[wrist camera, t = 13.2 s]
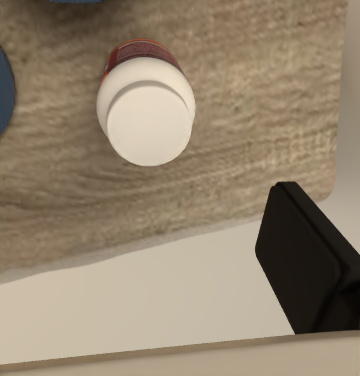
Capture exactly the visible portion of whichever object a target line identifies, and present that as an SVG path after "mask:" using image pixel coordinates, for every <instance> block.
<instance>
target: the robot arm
mask: <svg viewBox="0 0 360 376" xmlns="http://www.w3.org/2000/svg"><path fill="white" fill-rule="evenodd" d="M255 253H256V257H257V259H258V261H259V263H260V265H261V267H262V268H263V271H264V272H265V274H266V277H267V279H268V281H269V283H270V285H271V287H272V289H273V291H274V293H275V295H276V297H277V299H278V301H279V303H280V305H281V307H282V309H283V311H284V313H285V315H286V317H287V319H288V321H289V323H290V325H291V327H292V329H293V331H294V333H295V335H286V336H275V337H265V338H255V339H244V340H234V341H224V342H215V343H204V344H194V345H184V346H175V347H164V348H155V349H145V350H136V351H125V352H117V353H107V354H96V355H87V356H78V357H69V358H59V359H50V360H41V361H31V362H22V363H13V364H4V365H0V376H360V255H359V254H358V252H357V251H356V250H355V249H354V248H353V247H352V245H351V244H350V243H349V242H348V241H347V240H346V239H345V237H344V236H343V235H342V234H341V233H340V232H339V231H338V229H337V228H336V227H335V226H334V225H333V224H332V223H331V221H330V220H329V219H328V218H327V217H326V216H325V215H324V213H323V212H322V211H321V210H320V209H319V208H318V207H317V205H316V204H315V203H314V202H313V201H312V200H311V199H310V197H309V196H308V195H307V194H306V193H305V192H304V191H303V189H302V188H301V187H300V186H299V185H298V184H297V183H296V182H277V183H276V185H275V186H272V187H271V189H270V192H269V196H268V200H267V204H266V207H265V211H264V215H263V219H262V223H261V226H260V230H259V234H258V238H257V242H256V246H255Z"/></svg>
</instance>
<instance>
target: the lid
mask: <svg viewBox="0 0 360 376" xmlns="http://www.w3.org/2000/svg"><path fill="white" fill-rule="evenodd" d="M14 104H15V85H14V78H13V74H12V71H11V68H10V65H9V62H8V60H7V58H6V55H5V53H4V52H3V50H2V48H1V46H0V134H1V133H2V132H3V130H4V129H5V128H6V126H7V125H8V123H9V121H10V119H11V116H12V113H13V109H14Z"/></svg>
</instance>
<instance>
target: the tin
mask: <svg viewBox="0 0 360 376" xmlns="http://www.w3.org/2000/svg"><path fill="white" fill-rule="evenodd" d="M48 1H50V2H53V3H79V4H95V3H98V2H101V1H103V0H48Z"/></svg>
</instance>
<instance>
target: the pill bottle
mask: <svg viewBox="0 0 360 376" xmlns="http://www.w3.org/2000/svg"><path fill="white" fill-rule="evenodd" d="M96 109H97V116H98V120H99V123H100V125H101V128H102V129H103V131H104V133H105V134H106V135H107V137H108V138H109V141H110V143H111V145H112V147H113V148H114V149H115V151H116V152H117V153H118V154H119V155H120V156H121V157H123V158H124V159H125V160H127V161H129V162H131V163H134V164H137V165H141V166H157V165H161V164H164V163H167V162H169V161H171V160H173V159H174V158H175V157H177V156H178V155H179V154H180V153H181V152H182V151H183V150H184V148H185V147H186V145H187V143H188V141H189V138H190V135H191V129H192V124H193V121H194V117H195V98H194V95H193V91H192V88H191V86H190V84H189V82H188V80H187V79H186V77H185V75H184V74H183V72H182V70H181V68H180V66H179V64H178V63H177V61H176V59H175V58H174V56H173V55H172V54H171V52H170V51H169V50H168V49H167V48H165V47H164V46H163V45H161V44H160V43H158V42H156V41H153V40H150V39H144V38H137V39H131V40H128V41H126V42H124V43H122V44H120V45H119V46H118V47H116V48H115V49H114V50H113V51H112V53H111V54H110V56H109V57H108V59H107V61H106V64H105V67H104V71H103V75H102V78H101V83H100V87H99V91H98V95H97V103H96Z"/></svg>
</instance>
